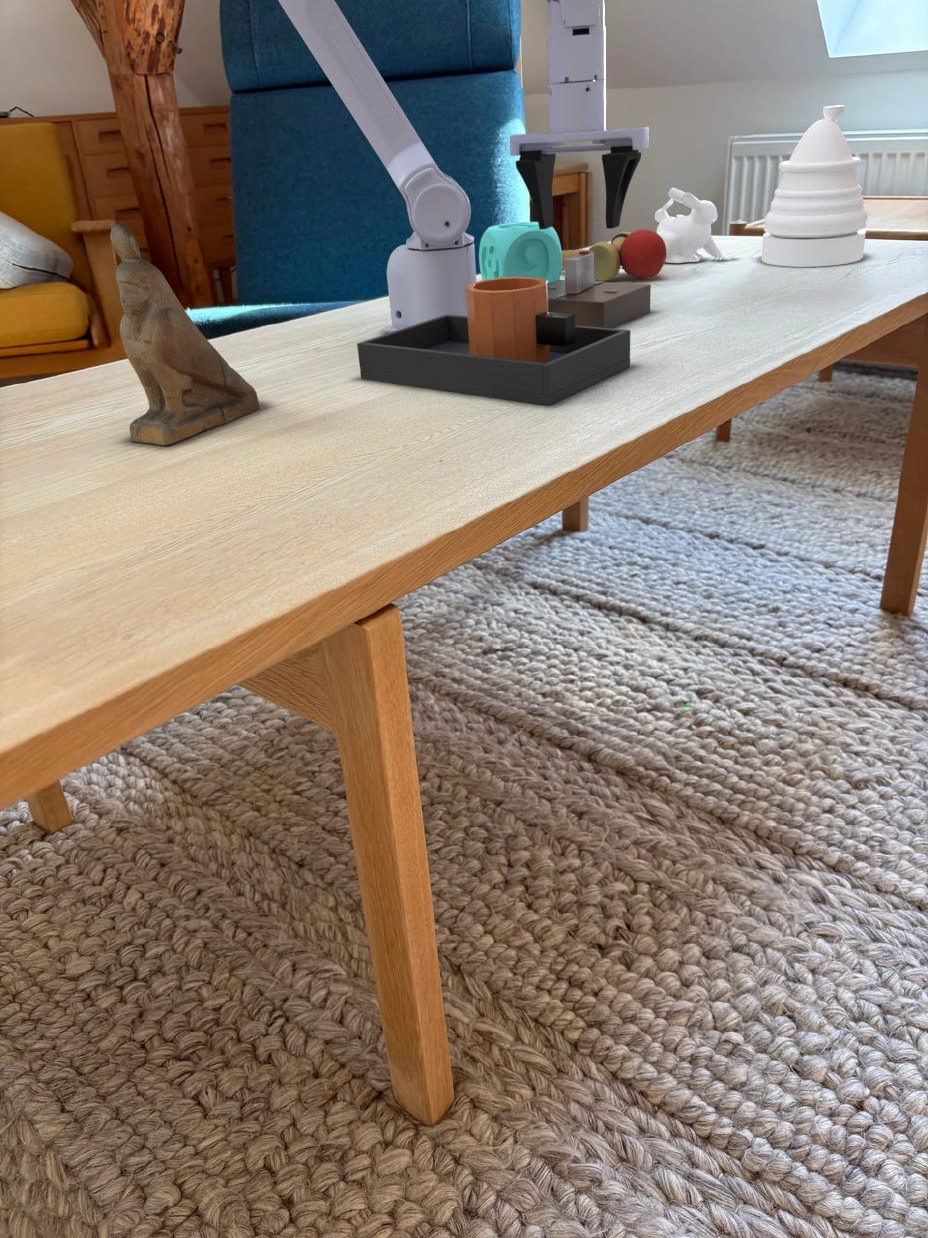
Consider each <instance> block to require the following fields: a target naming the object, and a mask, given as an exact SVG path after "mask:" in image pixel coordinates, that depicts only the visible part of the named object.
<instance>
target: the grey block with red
mask: <svg viewBox="0 0 928 1238" xmlns="http://www.w3.org/2000/svg"><path fill="white" fill-rule="evenodd" d="M581 250H582V251H580V252H579V254H577V255H575V256H573V257H570V258H568V259H566V260H564V261H565V271H564V280H565V294H578V293H580V292H582V291H584V290H586V289H588V288H590V287H592V286H594V281H595V279H594V252H592V250H589V249H581Z"/></svg>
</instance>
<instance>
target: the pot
mask: <svg viewBox="0 0 928 1238" xmlns="http://www.w3.org/2000/svg"><path fill="white" fill-rule="evenodd" d="M476 281H477V282H474V283H471V284H468V286H467V287H466V301H467V316H468V331H469V347H470V354H471V355H480V356H489V357H498V358H507V359H516V360H525V361H533V362H542V363H548V362H549V345H553V346H563V347H566V346H568V345H571V344H573V343H575V314H563V313H551V312H548V286H547V280H544V279H541V278H537V277H502V278H494V279H487V280H482V279H481V280H476Z"/></svg>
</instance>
